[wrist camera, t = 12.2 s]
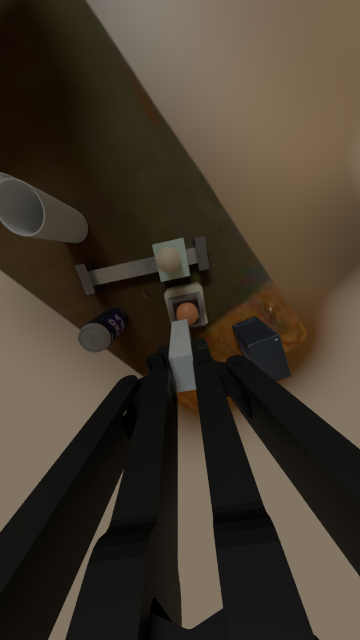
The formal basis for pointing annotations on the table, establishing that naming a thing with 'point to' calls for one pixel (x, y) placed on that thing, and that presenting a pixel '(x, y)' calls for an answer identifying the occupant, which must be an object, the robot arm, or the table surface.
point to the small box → (262, 347)
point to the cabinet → (186, 293)
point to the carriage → (171, 259)
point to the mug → (38, 213)
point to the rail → (135, 268)
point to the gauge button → (187, 312)
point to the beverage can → (102, 330)
